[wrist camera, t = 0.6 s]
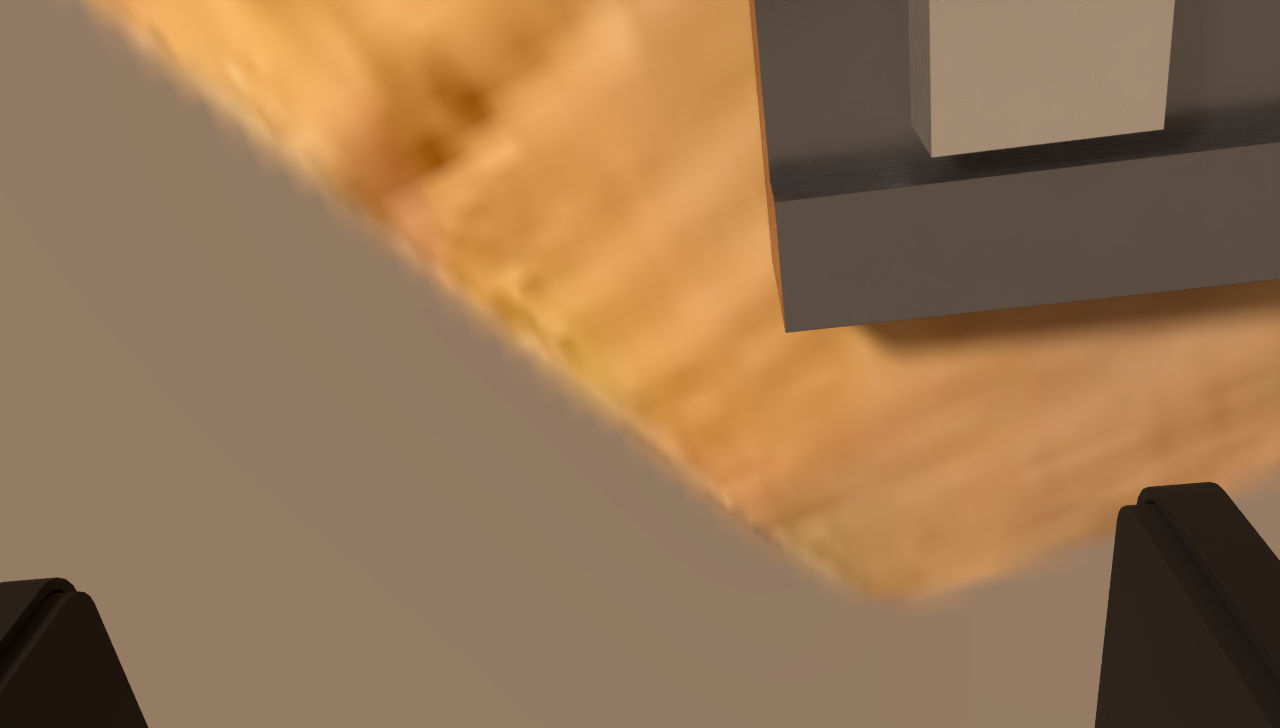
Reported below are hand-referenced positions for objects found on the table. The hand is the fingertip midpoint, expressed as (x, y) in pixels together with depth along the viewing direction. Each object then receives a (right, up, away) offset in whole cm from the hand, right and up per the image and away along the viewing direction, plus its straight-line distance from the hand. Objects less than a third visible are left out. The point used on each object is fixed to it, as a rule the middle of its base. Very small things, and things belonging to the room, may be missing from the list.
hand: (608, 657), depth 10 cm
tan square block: (+9, +11, +15) cm, 21 cm away
